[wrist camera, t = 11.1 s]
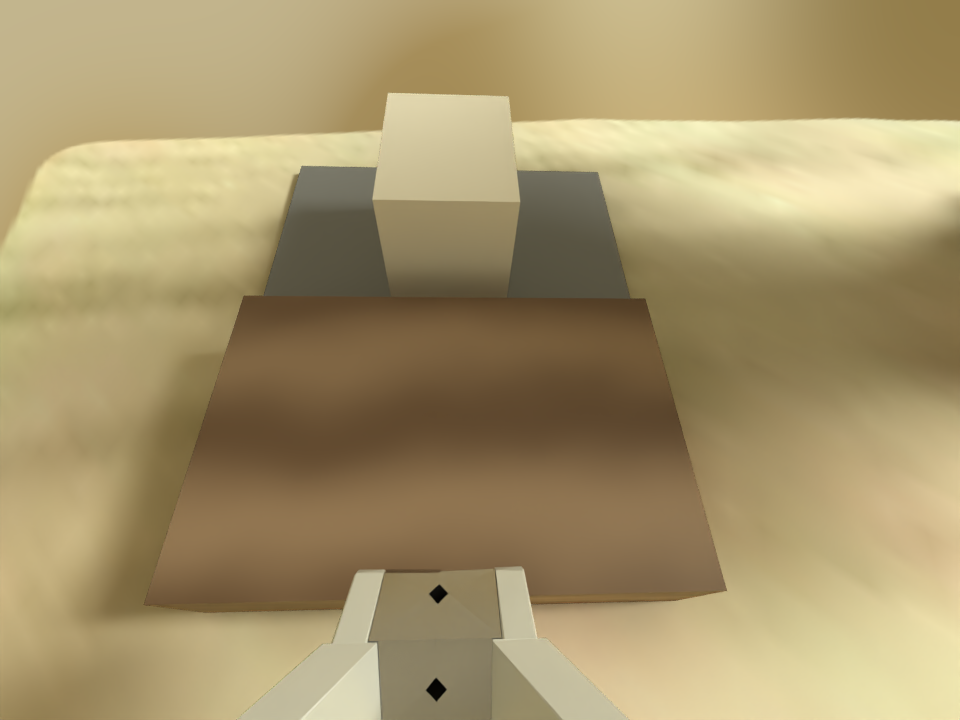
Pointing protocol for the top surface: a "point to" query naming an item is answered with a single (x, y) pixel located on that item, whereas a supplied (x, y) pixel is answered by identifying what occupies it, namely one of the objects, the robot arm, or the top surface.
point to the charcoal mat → (358, 253)
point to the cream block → (447, 195)
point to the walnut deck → (437, 455)
